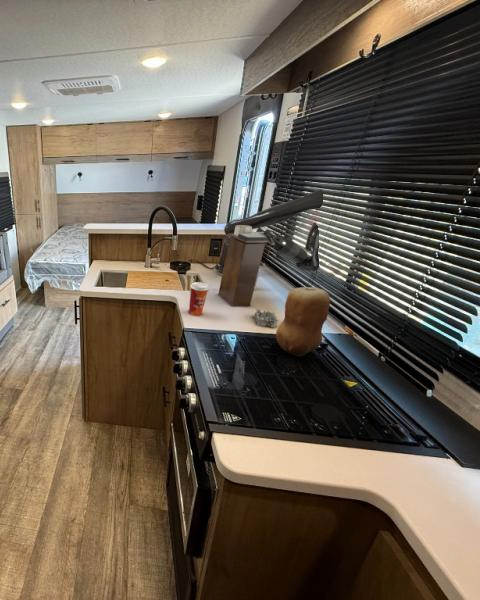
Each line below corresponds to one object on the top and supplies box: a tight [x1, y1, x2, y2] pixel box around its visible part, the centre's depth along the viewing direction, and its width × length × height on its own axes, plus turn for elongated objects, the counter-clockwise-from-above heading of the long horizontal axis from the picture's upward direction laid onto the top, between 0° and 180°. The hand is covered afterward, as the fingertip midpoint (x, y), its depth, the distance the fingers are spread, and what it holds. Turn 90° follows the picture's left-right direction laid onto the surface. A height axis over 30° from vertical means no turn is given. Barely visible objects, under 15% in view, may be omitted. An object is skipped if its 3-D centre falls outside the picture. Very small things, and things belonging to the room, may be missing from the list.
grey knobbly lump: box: [253, 307, 279, 328], centre depth 132 cm, size 11×8×4 cm
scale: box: [238, 234, 268, 241], centre depth 137 cm, size 8×10×2 cm
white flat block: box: [234, 225, 274, 236], centre depth 145 cm, size 7×18×4 cm, turn 92°
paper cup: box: [188, 281, 210, 317], centre depth 138 cm, size 8×8×14 cm
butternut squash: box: [275, 286, 331, 357], centre depth 106 cm, size 14×13×25 cm
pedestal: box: [217, 234, 269, 307], centre depth 148 cm, size 16×10×32 cm, turn 2°
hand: (261, 230), depth 145 cm, fingers open, 5 cm apart
